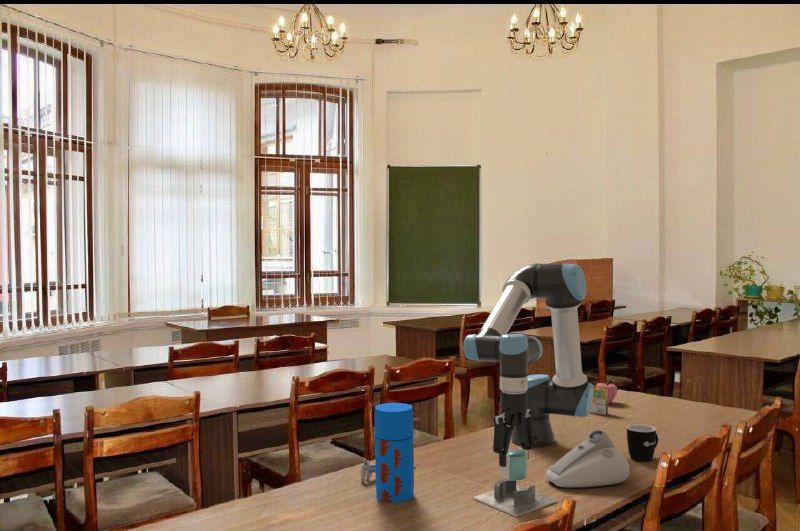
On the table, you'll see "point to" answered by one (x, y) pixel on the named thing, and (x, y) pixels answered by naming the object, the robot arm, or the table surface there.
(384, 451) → the thermos
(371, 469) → the caliper
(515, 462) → the cap
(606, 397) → the crayon box
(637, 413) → the table surface
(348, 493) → the table surface
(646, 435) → the mug
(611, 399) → the apple
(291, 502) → the table surface
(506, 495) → the cradle fixture plate
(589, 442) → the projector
